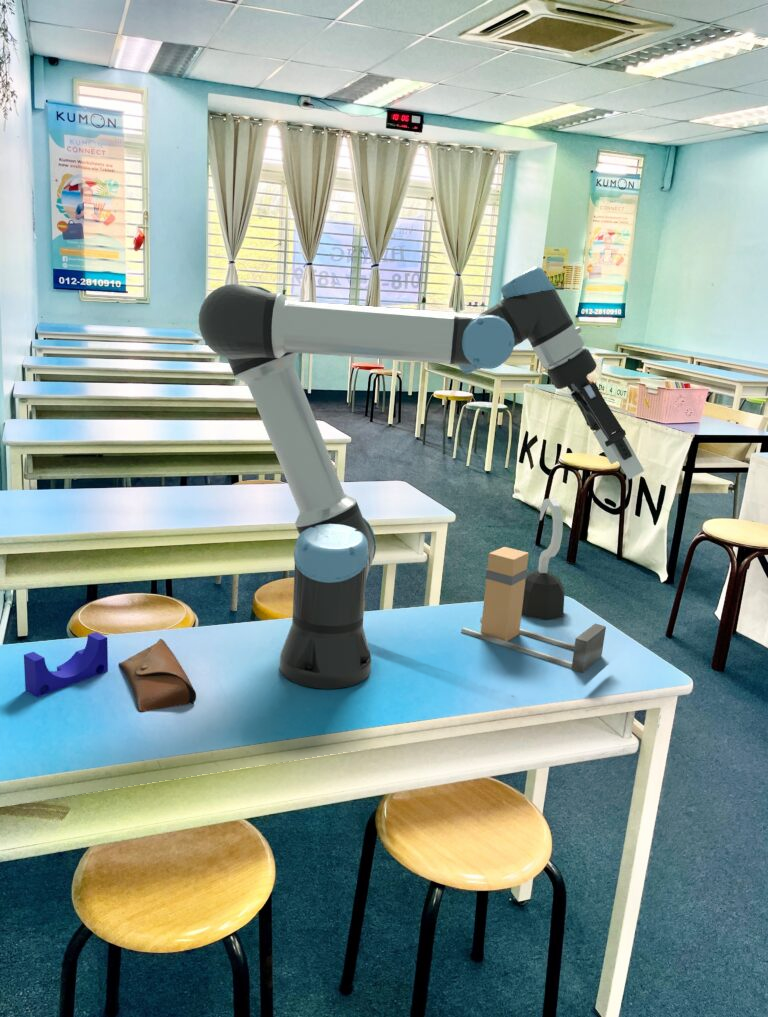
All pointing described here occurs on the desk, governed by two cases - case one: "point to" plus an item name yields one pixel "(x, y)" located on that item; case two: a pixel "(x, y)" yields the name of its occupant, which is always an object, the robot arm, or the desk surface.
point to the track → (584, 648)
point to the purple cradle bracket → (66, 667)
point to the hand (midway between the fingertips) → (626, 467)
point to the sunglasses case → (158, 678)
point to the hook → (546, 575)
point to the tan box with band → (504, 593)
